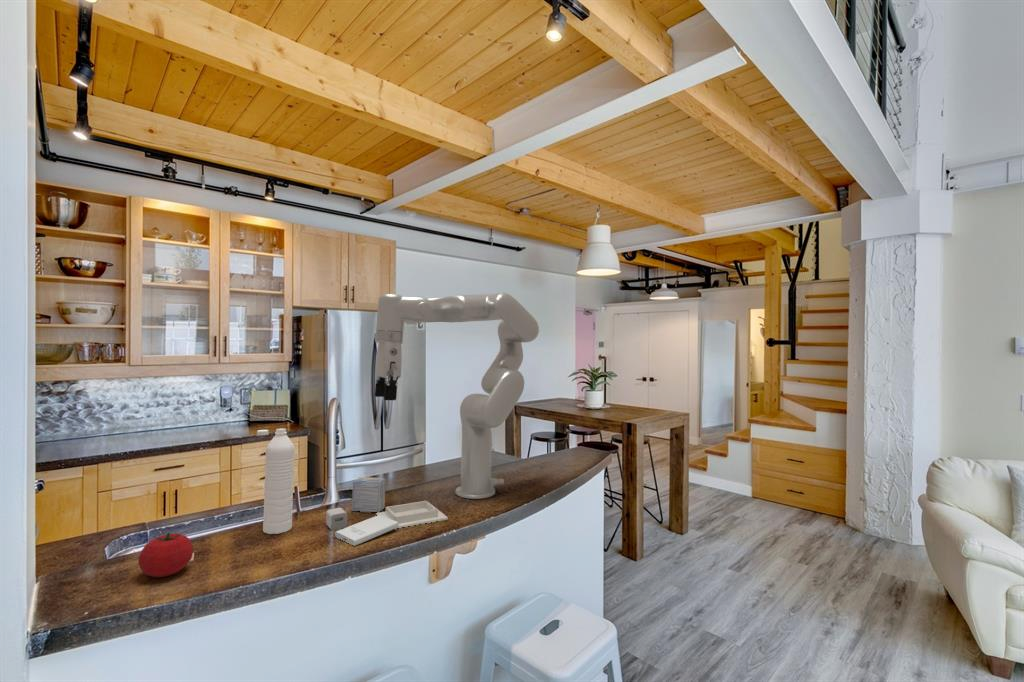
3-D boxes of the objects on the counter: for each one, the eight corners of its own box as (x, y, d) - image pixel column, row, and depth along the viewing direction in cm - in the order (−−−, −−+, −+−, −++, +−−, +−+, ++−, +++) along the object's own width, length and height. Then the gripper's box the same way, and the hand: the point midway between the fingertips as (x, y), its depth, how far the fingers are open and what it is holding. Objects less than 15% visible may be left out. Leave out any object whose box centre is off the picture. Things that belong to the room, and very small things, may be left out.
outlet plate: (431, 506, 135) (431, 497, 136) (447, 519, 125) (447, 510, 125) (375, 515, 127) (376, 506, 127) (388, 530, 117) (389, 520, 117)
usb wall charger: (330, 531, 116) (331, 515, 116) (323, 522, 121) (323, 507, 121) (346, 527, 118) (347, 512, 118) (338, 519, 124) (339, 504, 124)
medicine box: (385, 508, 133) (385, 477, 133) (379, 513, 128) (379, 482, 129) (358, 506, 134) (359, 476, 134) (351, 512, 129) (352, 480, 129)
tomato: (197, 560, 98) (198, 522, 98) (186, 580, 90) (188, 538, 90) (146, 567, 95) (147, 527, 95) (130, 588, 87) (132, 544, 87)
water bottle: (286, 522, 120) (289, 425, 121) (296, 529, 116) (299, 429, 116) (249, 531, 114) (252, 429, 114) (258, 539, 110) (261, 432, 110)
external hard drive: (398, 528, 117) (354, 546, 107) (378, 520, 122) (334, 537, 112) (398, 522, 117) (354, 539, 107) (378, 514, 122) (334, 530, 112)
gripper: (412, 338, 127) (407, 401, 126) (393, 339, 142) (389, 395, 141) (384, 336, 123) (380, 401, 122) (368, 337, 138) (364, 395, 137)
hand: (385, 398), depth 132 cm, fingers open, 9 cm apart
